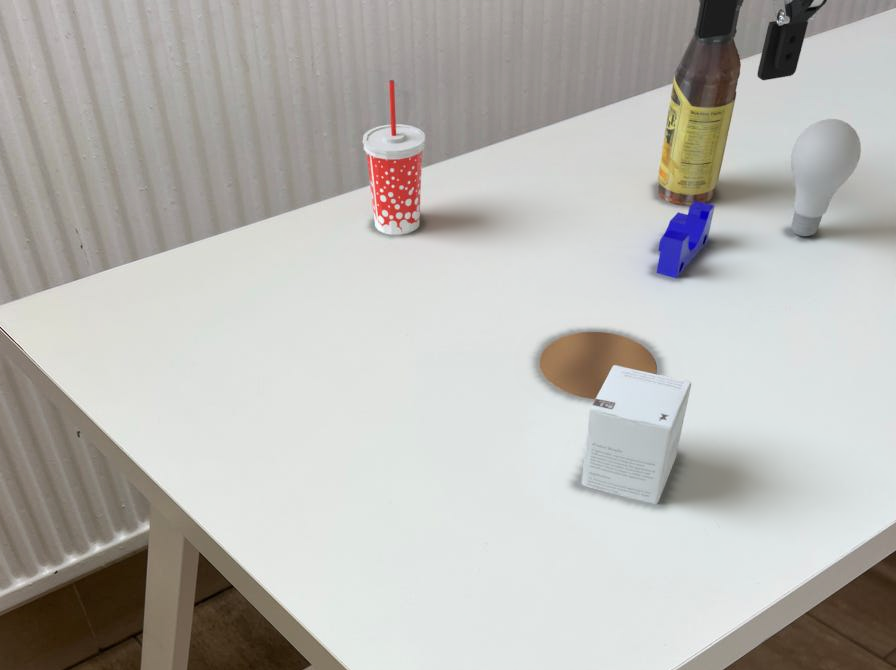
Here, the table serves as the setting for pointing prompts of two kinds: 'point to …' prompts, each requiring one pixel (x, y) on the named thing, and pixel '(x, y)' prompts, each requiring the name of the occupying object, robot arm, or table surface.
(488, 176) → the table surface
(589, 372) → the cork coaster
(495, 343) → the table surface
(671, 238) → the cable holder
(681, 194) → the sauce bottle
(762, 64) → the robot arm
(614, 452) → the white cardboard box
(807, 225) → the lightbulb
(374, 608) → the table surface
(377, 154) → the beverage cup
